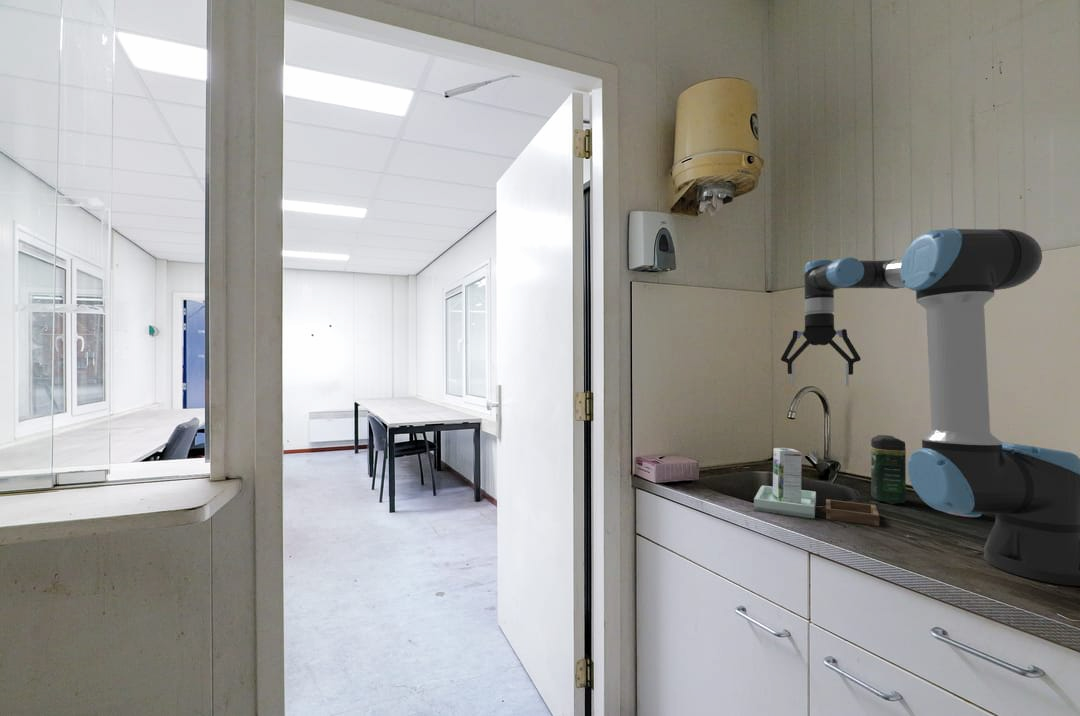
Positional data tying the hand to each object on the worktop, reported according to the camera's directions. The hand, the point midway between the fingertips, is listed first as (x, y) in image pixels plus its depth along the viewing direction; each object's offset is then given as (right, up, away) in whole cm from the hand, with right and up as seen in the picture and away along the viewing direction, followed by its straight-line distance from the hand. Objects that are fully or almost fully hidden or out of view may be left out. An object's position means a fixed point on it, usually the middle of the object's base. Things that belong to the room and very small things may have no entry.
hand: (819, 386), depth 144 cm
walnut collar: (-3, -32, -19) cm, 38 cm away
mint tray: (-15, -32, -10) cm, 37 cm away
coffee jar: (+18, -33, -2) cm, 38 cm away
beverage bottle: (+28, -33, -15) cm, 46 cm away
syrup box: (-14, -32, -10) cm, 36 cm away
